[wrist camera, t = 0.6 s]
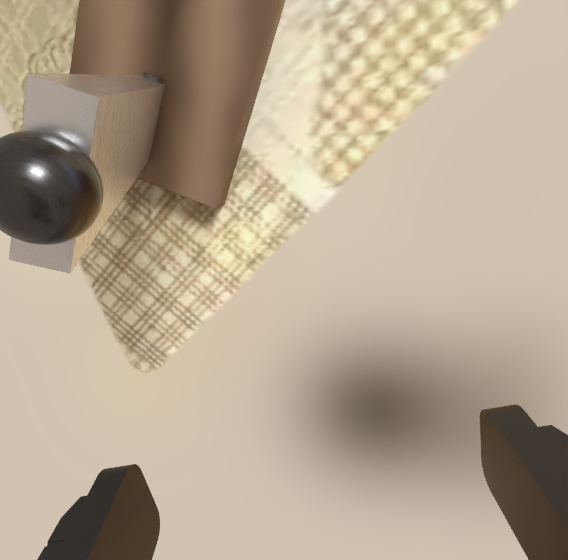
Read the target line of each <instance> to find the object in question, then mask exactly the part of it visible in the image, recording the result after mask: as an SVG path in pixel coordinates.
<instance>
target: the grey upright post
mask: <svg viewBox="0 0 568 560" xmlns="http://www.w3.org/2000/svg"><path fill="white" fill-rule="evenodd" d="M162 81H163V78H161V77H158V76H155V75H153V74H150V73H147V72H144V71H143V76H140V75H97V74H44V73H28V74H27V84H26V94H25V104H24V114H23V124H22V131H19V132H14V133H11V134H8V135H6V136H3V137H1V138H0V230H1V231H3V232H4V233H6V234H7V235H9V236H11V244H10V255H9V260H13V261H17V262H22V263H26V264H31V265H36V266H40V267H44V268H49V269H53V270H58V271H62V272H67V273H70V272H71V271H72V270H73V268H74V267H75V266H76V264H77V263H78V261H79V260H80V258H81V257H82V256H83V254H84V253H85V251H86V250H87V248H88V247H89V246H90V244H91V243H92V241H93V240H94V238H95V237H96V236H97V234H98V233H99V231H100V230H101V228H102V227H103V226H104V224H105V223H106V221H107V220H108V218H109V217H110V216H111V214H112V213H113V211H114V210H115V208H116V207H117V206H118V204H119V203H120V201H121V200H122V198H123V197H124V196H125V194H126V193H127V191H128V190H129V188H130V187H131V186H132V184H133V183H134V181H135V180H136V178H137V177H138V176H139V174H140V173H141V171H142V170H143V168H144V167H145V166H146V164H147V163H148V161H149V157H150V152H151V147H152V143H153V138H154V134H155V129H156V125H157V120H158V115H159V111H160V106H161V102H162V97H163V93H164V88H165V85H164V84H162Z"/></svg>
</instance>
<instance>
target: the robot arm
mask: <svg viewBox="0 0 568 560" xmlns="http://www.w3.org/2000/svg"><path fill="white" fill-rule="evenodd" d="M480 433H481V457H482V467H483V471H484V475H485V478H486V481H487V484H488V486H489V488H490V490H491V492H492V494H493V496H494V498H495V500H496V501H497V503H498V505H499V507H500V509H501V511H502V512H503V514H504V516H505V518H506V519H507V521H508V523H509V525H510V527H511V529H512V530H513V532H514V534H515V536H516V537H517V539H518V541H519V543H520V545H521V547H522V548H523V550H524V552H525V554H526V555H527V557H528V559H529V560H568V435H567V434H565V433H563V432H562V431H560V430H559V429H557V428H555V427H554V426H552V425H549V426H542V427H537V426H536V425H535V423H534V422H533V421H532V419H531V418H530V417H529V416H528V415H527V413H526V412H525V411H524V410H523V409H522V408H521V407H520V406H518V405H510V406H504V407H498V408H491V409H485V410H482V411H481V413H480ZM159 530H160V519H159V512H158V509H157V506H156V504H155V501H154V499H153V497H152V494H151V492H150V490H149V487H148V485H147V483H146V481H145V478H144V476H143V473H142V471H141V469H140V468H139V466H137V465H136V464H133V465H127V466H121V467H115V468H108V469H104V470H102V471H101V472H100V473H99V475H98V476H97V478H96V480H95V482H94V484H93V486H92V488H91V490H90V492H89V494H88V495H87V496H83V497H80V498H79V499H78V500H77V501H76V503H75V504H74V505H73V506H72V507H71V508H70V509H69V510H68V511H67V512H66V513H65V515H63V517H62V518H61V519H60V521H59V523H58V525H57V526H56V528H55V530H54V532H53V533H52V535H51V537H50V539H49V540H48V545H47V547H45V548H44V549H43V551H42V553H41V554H40V556H39V558H38V560H152V556H153V554H154V550H155V547H156V544H157V541H158V536H159Z"/></svg>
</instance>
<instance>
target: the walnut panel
mask: <svg viewBox="0 0 568 560" xmlns="http://www.w3.org/2000/svg"><path fill="white" fill-rule="evenodd" d="M284 3H285V0H80V2H79V10H78V17H77V24H76V32H75V39H74V47H73V54H72V61H71V69H70V74H97V75H140V76H143V71H144V72H147V73H150V74H153V75H155V76H158V77H161V78H163V81H162V84H164V85H165V88H164V93H163V97H162V102H161V106H160V111H159V115H158V120H157V125H156V129H155V134H154V138H153V143H152V147H151V152H150V157H149V161H148V163H147V164H146V166H145V167H144V168H143V170H142V171H141V173H140V174H139V176H138V177H137V178H139V179H142V180H144V181H147V182H149V183H152V184H154V185H157V186H159V187H162V188H164V189H167V190H169V191H172V192H174V193H177V194H179V195H182V196H184V197H187V198H190V199H192V200H195V201H197V202H200V203H202V204H205V205H207V206H210V207H212V208H215V209H216V208H218V207H220V206H222V205H224V203H225V199H226V196H227V193H228V189H229V186H230V183H231V179H232V176H233V173H234V169H235V166H236V163H237V160H238V156H239V153H240V150H241V146H242V143H243V140H244V136H245V133H246V130H247V126H248V123H249V120H250V116H251V113H252V110H253V106H254V103H255V100H256V96H257V93H258V90H259V86H260V83H261V80H262V76H263V73H264V70H265V66H266V63H267V60H268V56H269V53H270V50H271V46H272V43H273V40H274V36H275V33H276V30H277V26H278V23H279V20H280V16H281V13H282V10H283V6H284Z"/></svg>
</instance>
